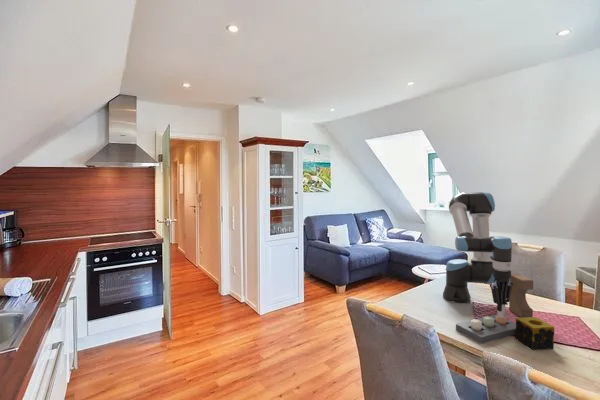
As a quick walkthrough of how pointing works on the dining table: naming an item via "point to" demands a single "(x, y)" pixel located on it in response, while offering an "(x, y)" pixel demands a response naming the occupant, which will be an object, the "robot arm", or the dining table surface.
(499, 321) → the terracotta button
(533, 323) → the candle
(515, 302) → the decorative block
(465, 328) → the panel
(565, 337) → the dining table surface
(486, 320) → the sage button
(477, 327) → the cream button
